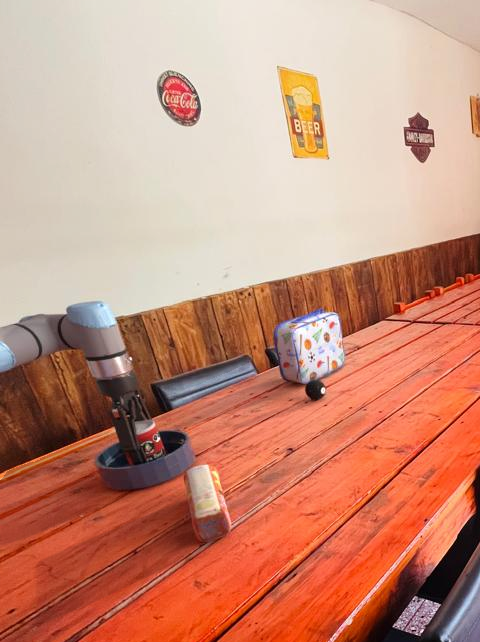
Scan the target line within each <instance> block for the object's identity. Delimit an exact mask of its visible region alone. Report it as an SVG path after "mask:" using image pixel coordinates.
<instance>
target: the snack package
mask: <svg viewBox="0 0 480 642" xmlns="http://www.w3.org/2000/svg"><path fill="white" fill-rule="evenodd" d="M183 484H184V486H185V491H186V498H187V503H188V507H189V512H190V517H191V525H192V529H193V532H194V535H195V537H196V539H197V540H198V541H199V542H202V543H209V542H213V541H214V540H215V541H216V540H218V539H220V538H223V537H225V536H227V535H228V534H229V533H230V532H231V529H232V520H231V518H230V517H231V516H230V513H229V510H228V506H227V504H226V500H225V495H224V491H223V488H222V485H221V482H220V474H219V472H218V470H217V468H216V467H215V466H213V465H212V464H201V465H197V466H193V467H191V468H188V469H187V470H185V471H184V474H183Z"/></svg>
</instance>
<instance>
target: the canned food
mask: <svg viewBox="0 0 480 642" xmlns="http://www.w3.org/2000/svg"><path fill="white" fill-rule="evenodd" d="M135 426H136V431H137V432H136V434H137V436H138V441H139V445H140V447H142V448H143V450H144V453H145V455H146V458H147V460H148V462H151V461H154V460H157V459H159V458H162V457H164V456H166V452H165V450H164V447H163V444H162V441H161V438H160V436H159V433H158V431H159V430H158V428H157V425H156V423H155V421H153V419H152V420H144V421H138V422H135ZM125 454H126V457H127V459H128V462H129V464H130V466H134V464H133V462H132V459H131V457H130V455H129V452H125Z"/></svg>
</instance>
